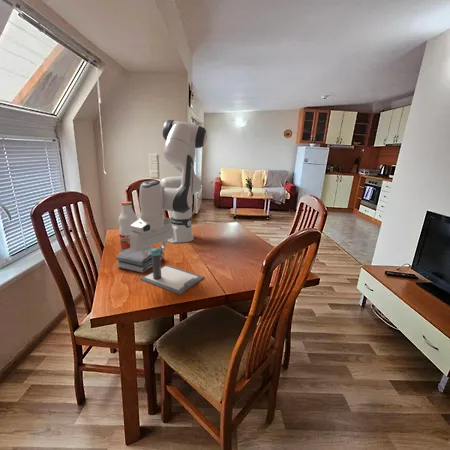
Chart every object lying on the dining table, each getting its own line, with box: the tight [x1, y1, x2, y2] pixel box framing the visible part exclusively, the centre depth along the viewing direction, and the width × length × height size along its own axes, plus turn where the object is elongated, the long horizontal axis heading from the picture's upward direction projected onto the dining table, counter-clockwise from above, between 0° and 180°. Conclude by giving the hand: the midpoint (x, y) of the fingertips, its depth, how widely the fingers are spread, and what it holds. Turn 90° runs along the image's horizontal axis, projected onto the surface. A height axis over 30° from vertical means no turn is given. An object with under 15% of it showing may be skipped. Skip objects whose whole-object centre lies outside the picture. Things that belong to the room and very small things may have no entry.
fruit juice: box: [118, 201, 139, 253], centre depth 127 cm, size 9×9×28 cm
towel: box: [115, 246, 165, 273], centre depth 120 cm, size 15×18×8 cm
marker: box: [151, 247, 162, 280], centre depth 104 cm, size 4×4×13 cm
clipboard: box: [139, 264, 205, 295], centre depth 107 cm, size 22×16×2 cm
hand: (154, 253), depth 103 cm, fingers open, 8 cm apart
